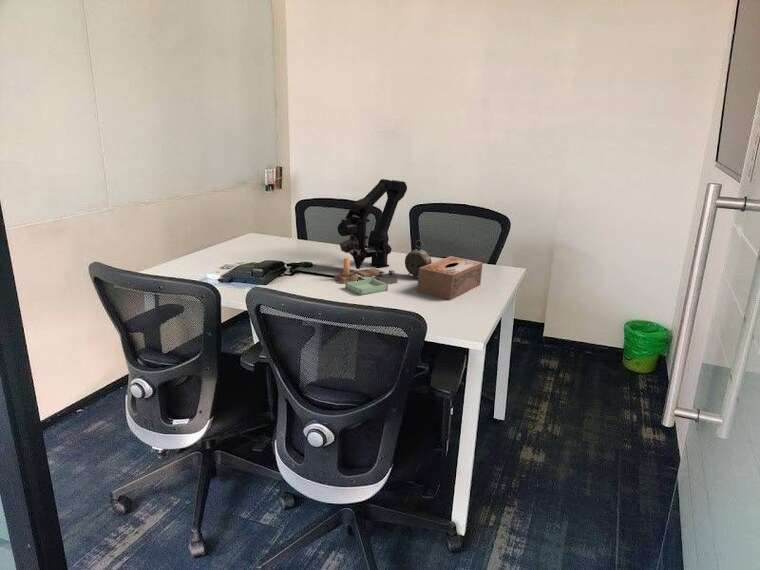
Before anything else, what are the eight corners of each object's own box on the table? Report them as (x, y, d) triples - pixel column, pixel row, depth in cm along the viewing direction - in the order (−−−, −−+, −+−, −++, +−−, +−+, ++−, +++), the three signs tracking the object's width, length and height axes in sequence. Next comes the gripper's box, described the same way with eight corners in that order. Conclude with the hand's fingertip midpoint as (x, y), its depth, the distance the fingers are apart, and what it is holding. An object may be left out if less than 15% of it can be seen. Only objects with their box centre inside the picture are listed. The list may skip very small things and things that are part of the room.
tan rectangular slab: (374, 273, 243) (374, 267, 242) (383, 277, 238) (384, 272, 237) (354, 276, 237) (354, 270, 237) (364, 281, 232) (364, 275, 231)
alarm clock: (430, 279, 237) (433, 241, 233) (424, 281, 233) (427, 243, 228) (408, 274, 243) (411, 237, 238) (401, 276, 239) (404, 238, 234)
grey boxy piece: (392, 280, 232) (393, 269, 231) (397, 282, 230) (397, 271, 229) (375, 283, 227) (375, 272, 226) (379, 285, 225) (380, 274, 223)
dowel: (347, 279, 231) (347, 257, 229) (350, 280, 230) (351, 259, 227) (342, 280, 230) (342, 258, 227) (345, 281, 228) (346, 259, 226)
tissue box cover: (450, 301, 212) (452, 275, 209) (417, 292, 219) (419, 267, 217) (480, 286, 232) (482, 262, 229) (449, 279, 240) (451, 256, 237)
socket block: (348, 277, 235) (348, 272, 234) (358, 281, 229) (358, 276, 229) (334, 279, 230) (334, 274, 230) (343, 283, 225) (344, 278, 225)
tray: (372, 283, 227) (372, 278, 226) (387, 290, 219) (388, 284, 219) (345, 288, 219) (345, 282, 219) (360, 295, 212) (360, 289, 211)
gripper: (331, 230, 241) (330, 266, 246) (356, 239, 227) (354, 276, 232) (352, 228, 248) (351, 263, 252) (378, 236, 234) (376, 273, 238)
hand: (357, 268), depth 243 cm, fingers closed
